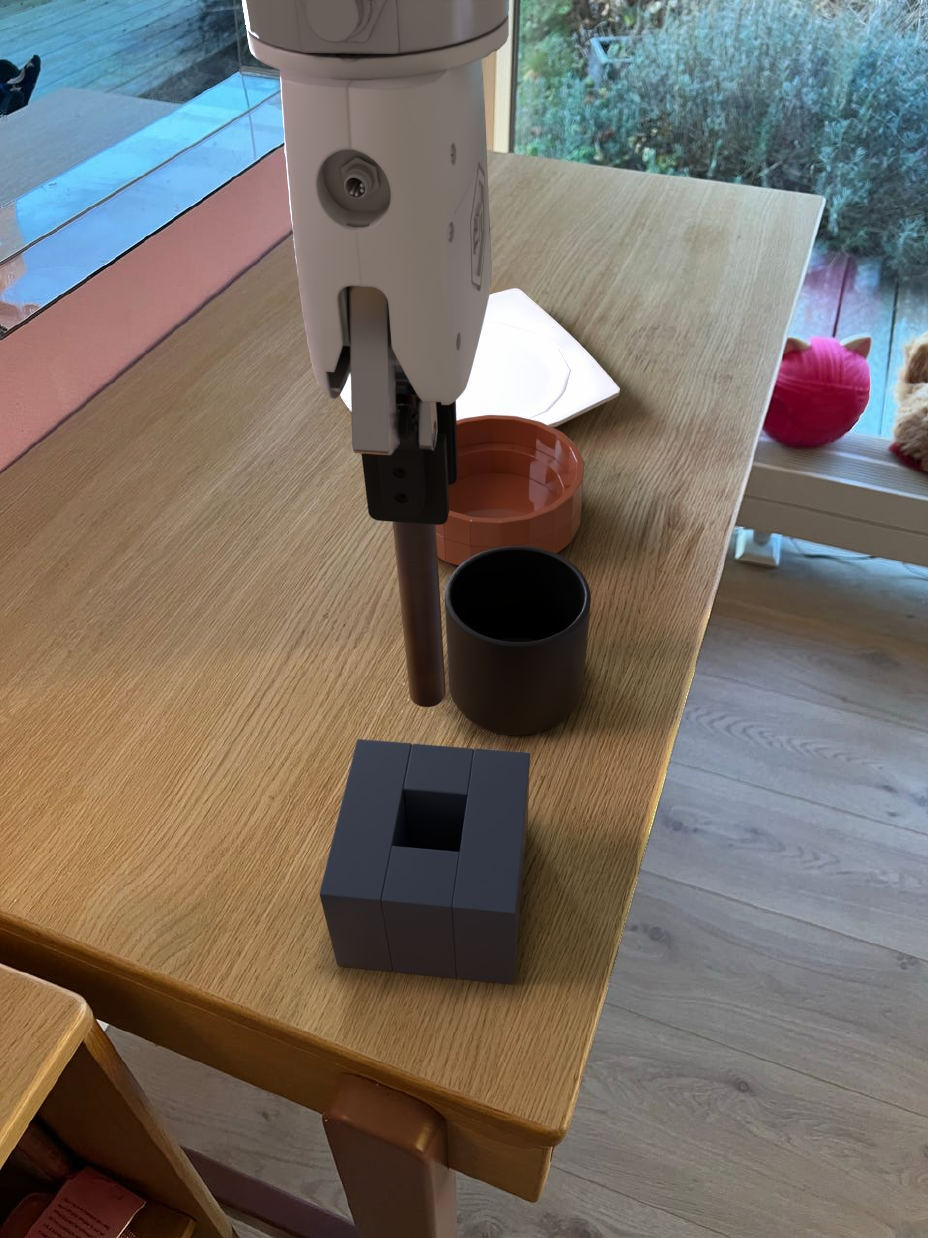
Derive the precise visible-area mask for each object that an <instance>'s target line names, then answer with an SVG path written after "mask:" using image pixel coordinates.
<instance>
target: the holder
mask: <svg viewBox="0 0 928 1238" xmlns="http://www.w3.org/2000/svg"><path fill="white" fill-rule="evenodd" d="M353 750H354V751H353V753H352V758H351V762H350V767H349V771H348V775H347V780H346V784H345V788H344V792H343V796H342V799H341V804H340V807H339V812H338V816H337V820H336V824H335V828H334V833H333V836H332V841H331V844H330V849H329V853H328V857H327V859H326V861H327V862H326V865H325V869H324V873H323V877H322V881H321V885H320V889H319V899H320V902H321V906H322V910H323V914H324V919H325V922H326V926H327V931H328V934H329V939H330V942H331V946H332V950H333V953H334V957H335V962H336V966H338V967H343V968H352V969H353V968H354V969H364V970H373V971H381V972H390V973H391V972H394V973H400V974H411V975H421V976H429V977H438V978H439V977H440V978H446V979H447V978H449V979H457V980H466V981H476V982H487V983H496V984H505V985H514V984H515V978H516V977H515V976H516V967H517V966H516V965H517V955H518V952H517V951H518V943H519V932H520V920H521V912H522V911H521V909H522V897H523V886H524V876H525V875H524V874H525V864H526V863H525V862H526V855H527V854H526V853H527V851H526V850H527V841H528V829H529V828H528V827H529V826H528V825H529V804H530V803H529V801H530V800H529V799H530V795H529V794H530V776H531V775H530V773H531V752H525V751H514V750H502V749H501V750H500V749H488V748H472V747H459V746H450V745H449V746H448V745H435V744H425V743H424V744H423V743H411V742H401V741H387V740H376V739H375V740H374V739H363V738H357V739H356V742H355V746H354V749H353Z"/></svg>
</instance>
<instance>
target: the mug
mask: <svg viewBox="0 0 928 1238" xmlns="http://www.w3.org/2000/svg"><path fill="white" fill-rule="evenodd" d="M591 604H592V594H591V588H590V585H589V582H588V580H587V578H586V577H585V575H584V574H583V572H582V571H581V570H580V568H578V566H577V565H575V564H574V563H573V562H571V561H570V560H568V559H567V558H565V557H564V556H562V555H560V554H558V553H557V554H556V553H553V552H551V551H548V550H544V549H541V548H536V547H529V546H505V547H498V548H494V549H490V550H487V551H484V552H481V553H479V554H476V555H474V556H472V557H471V558H469V559H468V560H466V561H465V562H463V563H462V564H461V565H460V566H459V565H458V567H456V569H455V570H454V571H453V573H452V574H451V575H450V577H449V579H448V581H447V582H446V586H445V590H444V615H445V633H446V650H447V651H446V652H447V669H448V670H447V671H448V672H447V673H448V686H449V687H448V688H449V693H450V696H451V698H452V700H453V702H454V704H455V706H456V707H457V708H458V709H459V711H460V712H461V713H462V714H463V716H464V717H465V718H467V719H468V720H469V721H471V722H472V723H473V724H475V725H477V726H479V727H481V728H482V729H484V730H487V731H489V732H493V733H497V734H500V735H507V736H527V735H528V736H529V735H534V734H538V733H542V732H545V731H548V730H550V729H552V728H553V727H556V726H557V725H559V724H561V723H562V722H564V721H565V719H567V718H568V717H569V716H570V715H571V714H572V712H573V711H574V710H575V709H576V708H577V706H578V704H579V703H580V701H581V698H582V695H583V691H584V684H585V683H584V681H585V671H586V659H587V651H588V639H589V627H590V617H591V615H590V614H591V606H592V605H591Z"/></svg>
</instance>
